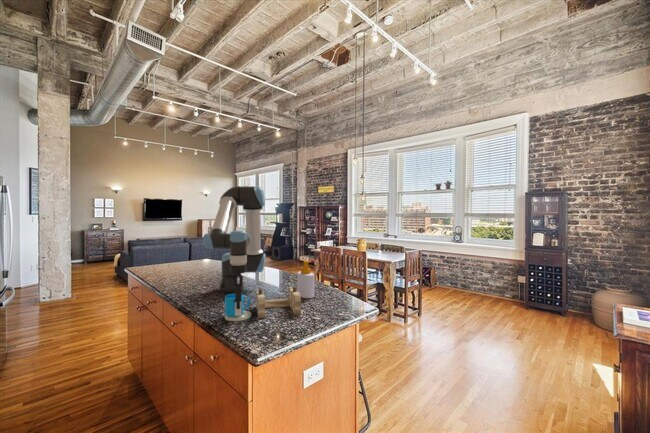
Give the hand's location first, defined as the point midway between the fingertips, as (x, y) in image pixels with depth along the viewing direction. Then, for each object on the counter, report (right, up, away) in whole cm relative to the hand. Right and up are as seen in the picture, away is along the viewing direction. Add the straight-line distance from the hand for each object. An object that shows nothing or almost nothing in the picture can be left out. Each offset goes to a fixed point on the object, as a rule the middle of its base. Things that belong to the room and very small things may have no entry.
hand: (238, 312), depth 138 cm
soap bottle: (+29, -2, +35) cm, 45 cm away
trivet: (0, -2, 0) cm, 2 cm away
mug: (0, 0, +1) cm, 1 cm away
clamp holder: (+17, -2, +9) cm, 19 cm away
